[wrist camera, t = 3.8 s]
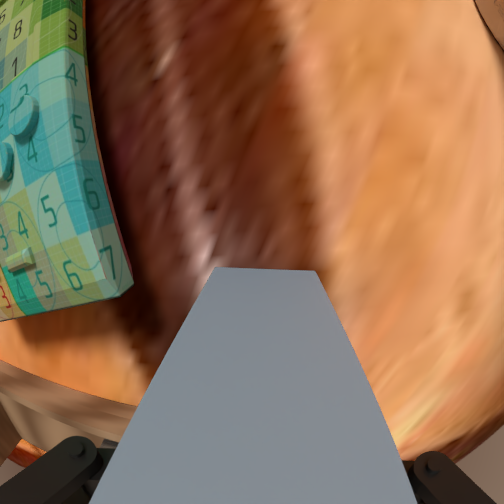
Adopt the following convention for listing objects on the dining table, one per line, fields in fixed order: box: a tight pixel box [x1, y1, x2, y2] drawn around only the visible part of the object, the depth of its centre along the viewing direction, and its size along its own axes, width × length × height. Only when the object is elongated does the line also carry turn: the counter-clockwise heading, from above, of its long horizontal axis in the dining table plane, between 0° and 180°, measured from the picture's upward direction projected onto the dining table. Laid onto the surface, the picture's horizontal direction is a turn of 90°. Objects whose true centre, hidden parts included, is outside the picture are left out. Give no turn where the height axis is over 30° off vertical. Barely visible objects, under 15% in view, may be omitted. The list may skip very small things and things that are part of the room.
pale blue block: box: [89, 267, 417, 504], centre depth 7 cm, size 4×8×11 cm, turn 178°
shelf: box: [0, 360, 137, 466], centre depth 11 cm, size 27×10×11 cm, turn 88°
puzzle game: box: [0, 0, 134, 322], centre depth 9 cm, size 12×5×20 cm
